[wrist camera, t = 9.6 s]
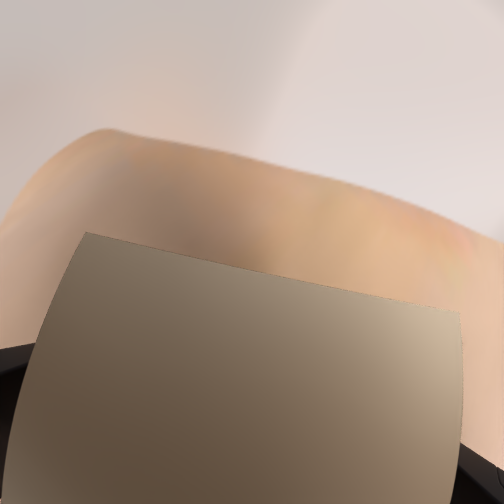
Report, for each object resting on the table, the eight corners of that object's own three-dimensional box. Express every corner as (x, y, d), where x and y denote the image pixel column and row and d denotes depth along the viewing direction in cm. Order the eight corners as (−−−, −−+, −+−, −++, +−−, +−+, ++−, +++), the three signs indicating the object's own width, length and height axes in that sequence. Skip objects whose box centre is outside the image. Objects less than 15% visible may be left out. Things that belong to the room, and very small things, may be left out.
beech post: (262, 490, 11) (396, 633, 1) (163, 470, 12) (2, 567, 1) (280, 403, 14) (459, 312, 3) (185, 383, 14) (85, 232, 3)
